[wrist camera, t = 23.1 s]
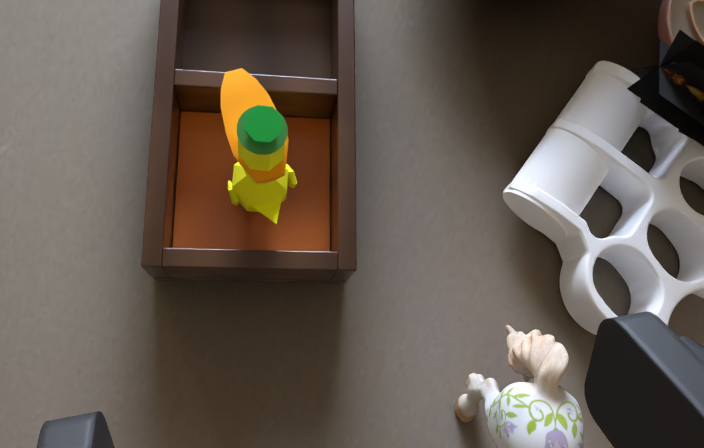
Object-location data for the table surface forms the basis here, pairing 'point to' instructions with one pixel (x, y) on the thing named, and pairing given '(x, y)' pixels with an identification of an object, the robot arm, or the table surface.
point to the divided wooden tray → (216, 155)
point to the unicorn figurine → (528, 397)
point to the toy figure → (255, 145)
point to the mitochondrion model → (681, 19)
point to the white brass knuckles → (626, 186)
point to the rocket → (676, 86)
